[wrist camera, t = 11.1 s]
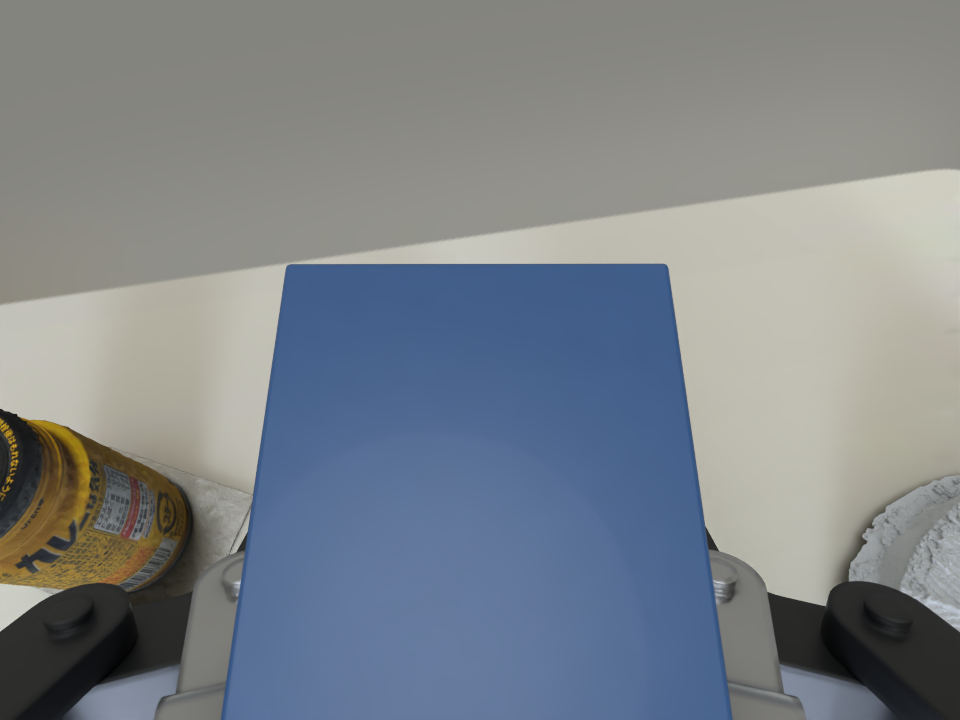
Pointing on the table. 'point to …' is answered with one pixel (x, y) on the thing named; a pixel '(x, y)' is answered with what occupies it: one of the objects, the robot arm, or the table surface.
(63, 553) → the condiment
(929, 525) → the food container
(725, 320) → the table surface
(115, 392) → the table surface
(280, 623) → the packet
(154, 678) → the robot arm
